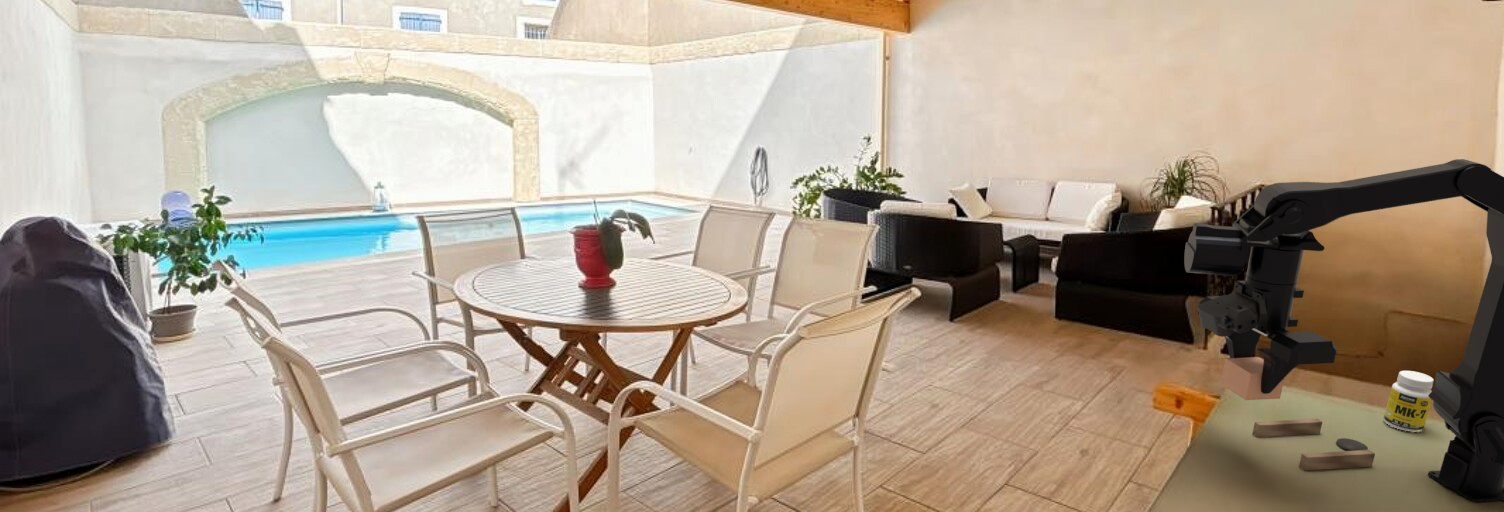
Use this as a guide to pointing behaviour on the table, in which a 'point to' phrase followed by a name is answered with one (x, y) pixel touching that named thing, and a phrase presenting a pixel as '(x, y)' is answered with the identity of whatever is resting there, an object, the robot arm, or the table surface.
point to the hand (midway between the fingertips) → (1251, 384)
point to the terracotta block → (1247, 378)
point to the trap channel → (1350, 458)
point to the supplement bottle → (1409, 401)
